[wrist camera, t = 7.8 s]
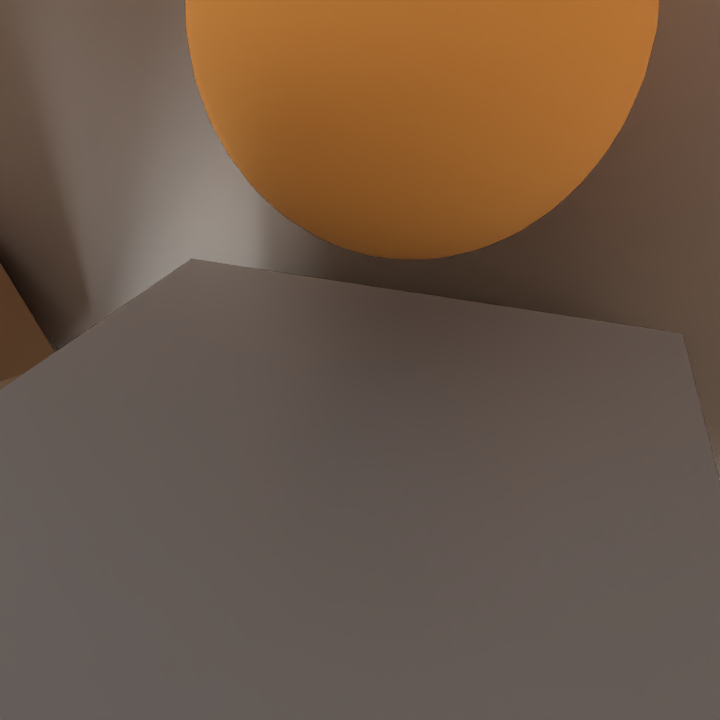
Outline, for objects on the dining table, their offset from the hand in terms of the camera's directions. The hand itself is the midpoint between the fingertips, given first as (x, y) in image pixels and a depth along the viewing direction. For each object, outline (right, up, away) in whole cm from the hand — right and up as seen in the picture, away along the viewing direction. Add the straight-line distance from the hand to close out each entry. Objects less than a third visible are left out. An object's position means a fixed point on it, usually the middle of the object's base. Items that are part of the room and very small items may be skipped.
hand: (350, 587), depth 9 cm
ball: (+1, +7, -2) cm, 7 cm away
